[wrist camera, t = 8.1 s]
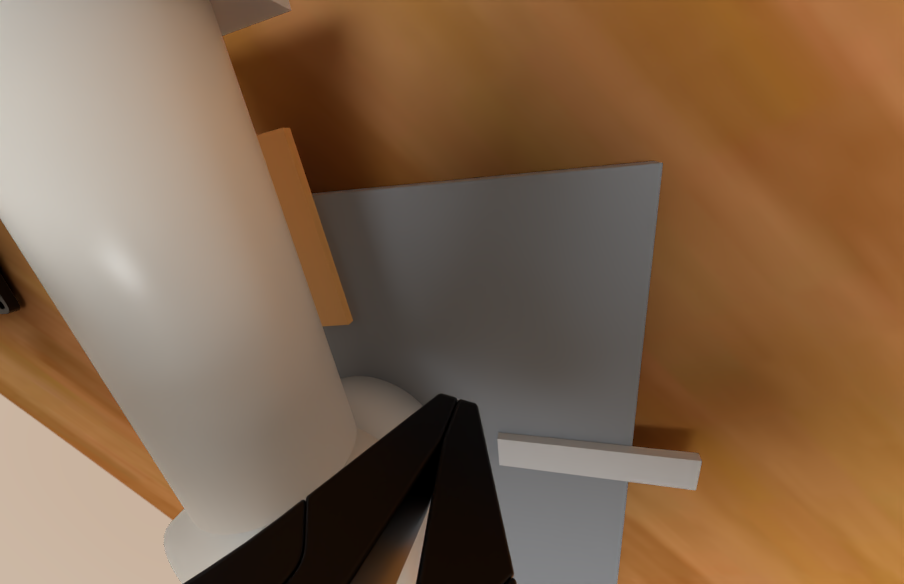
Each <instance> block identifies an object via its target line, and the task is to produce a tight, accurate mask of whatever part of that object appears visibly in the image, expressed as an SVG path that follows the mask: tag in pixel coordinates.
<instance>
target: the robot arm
mask: <svg viewBox="0 0 904 584" xmlns="http://www.w3.org/2000/svg"><path fill="white" fill-rule="evenodd" d="M19 309H20V305H19V303H18V301H17V299H16V298H15V296H14V294H13V293H12V291H11V290H10V288H9V286H8V285H7V283H6V282H5V280H4V278H3V277H2V275H1V274H0V314H8V313H11V312H14V311H17V310H19ZM429 505H430V508H429ZM428 508H429V513H428V519H427V524H426V530H425V535H424V541H423V546H422V552H421V557H420V563H419V569H418V574H417V580H416V584H517V582H516V580H515V579H514V578H513V576H514V570H513V565H512V560H511V556H510V551H509V547H508V542H507V537H506V533H505V528H504V524H503V519H502V514H501V510H500V505H499V501H498V496H497V491H496V487H495V482H494V478H493V473H492V468H491V464H490V459H489V455H488V450H487V445H486V441H485V436H484V432H483V427H482V422H481V418H480V413H479V409H478V406H477V404H476V403H473V402H470V401H467V400H463V399H459V400H457V398H456V397H453V396H450V395H446V394H443V393H440V394H438V395H436V396H435V397H434V398H432V399H431V400H430V401H429V402H427V403H426V404H425V405H423V406H422V407H421V408H420V409H418V410H417V411H416V412H414V413H413V414H412V415H411V416H409V417H408V418H407V419H405V420H404V421H403V422H402V423H400V424H399V425H398V426H396V427H395V428H394V429H393V430H391V431H390V432H389V433H387V434H386V435H385V436H384V437H382V438H381V439H380V440H378V441H377V442H376V443H375V444H373V445H372V446H371V447H369V448H368V449H367V450H366V451H364V452H363V453H362V454H360V455H359V456H358V457H357V458H355V459H354V460H353V461H351V462H350V463H349V464H348V465H346V466H345V467H344V468H342V469H341V470H340V471H339V472H337V473H336V474H335V475H333V476H332V477H331V478H330V479H328V480H327V481H326V482H324V483H323V484H322V485H321V486H319V487H318V488H317V489H315V490H314V491H313V492H311V493H310V494H309V495H308V496H307V497H306V501H305V500H301V501H300V502H298V503H297V504H296V505H294V506H293V507H292V508H291V509H289V510H288V511H287V512H286V513H284V514H283V515H282V516H280V517H279V518H278V519H276V520H275V521H274V522H272V523H271V524H270V525H268V526H267V527H265V528H264V529H263V530H261V531H260V532H259V533H257V534H256V535H255V536H253V537H252V538H251V539H249V540H248V541H246V542H245V543H243V544H242V545H241V546H239V547H238V548H236V549H235V550H233V551H232V552H230V553H229V554H227V555H226V556H224V557H223V558H221V559H220V560H218V561H217V562H215V563H214V564H212V565H211V566H209V567H208V568H206V569H205V570H203V571H202V572H200V573H199V574H197V575H195V576H194V577H192V578H191V579H189V580H188V581H186V582H185V583H183V584H396V583H397V581H398V579H399V576H400V574H401V572H402V569H403V567H404V565H405V562H406V560H407V558H408V555H409V553H410V551H411V548H412V546H413V544H414V541H415V539H416V537H417V534H418V532H419V530H420V527H421V525H422V523H423V520H424V518H425V515H426V513H427V510H428Z"/></svg>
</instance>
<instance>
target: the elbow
mask: <svg viewBox="0 0 904 584" xmlns="http://www.w3.org/2000/svg"><path fill="white" fill-rule="evenodd" d="M289 11H291V7H290V3H289V0H0V219H1V221H2V222H3V224H4V225H5V227H6V229H7V230H8V232H9V233H10V235H11V236H12V238H13V240H14V241H15V243H16V244H17V246H18V247H19V249H20V251H21V252H22V254H23V255H24V257H25V258H26V260H27V262H28V263H29V265H30V266H31V268H32V269H33V271H34V273H35V274H36V276H37V277H38V279H39V280H40V282H41V284H42V285H43V287H44V288H45V290H46V292H47V293H48V295H49V296H50V298H51V299H52V301H53V303H54V304H55V306H56V307H57V309H58V310H59V312H60V314H61V315H62V317H63V318H64V320H65V321H66V323H67V325H68V326H69V328H70V329H71V331H72V332H73V334H74V336H75V337H76V339H77V340H78V342H79V343H80V345H81V347H82V348H83V350H84V351H85V353H86V354H87V356H88V358H89V359H90V361H91V362H92V364H93V366H94V367H95V369H96V370H97V372H98V373H99V375H100V377H101V378H102V380H103V381H104V383H105V384H106V386H107V388H108V389H109V391H110V392H111V394H112V395H113V397H114V399H115V400H116V402H117V403H118V405H119V406H120V408H121V410H122V411H123V413H124V414H125V416H126V417H127V419H128V421H129V422H130V424H131V425H132V427H133V428H134V430H135V432H136V433H137V435H138V436H139V438H140V439H141V441H142V443H143V444H144V446H145V447H146V449H147V451H148V452H149V454H150V455H151V457H152V458H153V460H154V462H155V463H156V465H157V466H158V468H159V469H160V471H161V473H162V474H163V476H164V477H165V479H166V480H167V482H168V484H169V485H170V487H171V488H172V490H173V491H174V493H175V495H176V496H177V498H178V499H179V501H180V502H181V504H182V506H183V507H184V510H183V511H182V512H181V513H180V514H179V515H178V516H177V517H176V518H175V519H174V520H173V521H172V522H171V523H170V524H169V526H168V527H167V529H166V532H165V535H164V547H165V552H166V555H167V558H168V561H169V563H170V565H171V567H172V569H173V571H174V572H175V574H176V575H177V577H178V579H179V580H180V582H181V583H182V584H183V583H185V582H186V581H188V580H189V579H191V578H192V577H194V576H195V575H197V574H199V573H200V572H202V571H203V570H205V569H206V568H208V567H209V566H211V565H212V564H214V563H215V562H217V561H218V560H220V559H221V558H223V557H224V556H226V555H227V554H229V553H230V552H232V551H233V550H235V549H236V548H238V547H239V546H241V545H242V544H243V543H245V542H246V541H248V540H249V539H251V538H252V537H253V536H255V535H256V534H257V533H259V532H260V531H261V530H263V529H264V528H265V527H267V526H268V525H270V524H271V523H272V522H274V521H275V520H276V519H278V518H279V517H280V516H282V515H283V514H284V513H286V512H287V511H288V510H289V509H291V508H292V507H293V506H294V505H296V504H297V503H298V502H300V501H301V500H305V501H306V497H307V496H308V495H309V494H310V493H311V492H313V491H314V490H315V489H317V488H318V487H319V486H321V485H322V484H323V483H324V482H326V481H327V480H328V479H330V478H331V477H332V476H333V475H335V474H336V473H337V472H339V471H340V470H341V469H342V468H344V467H345V466H346V465H348V464H349V463H350V462H351V461H353V460H354V459H355V458H357V457H358V456H359V455H360V454H362V453H363V452H364V451H366V450H367V449H368V448H369V447H371V446H372V445H373V444H375V443H376V442H377V441H378V439H377V438H375V437H374V436H372V435H370V434H368V433H366V432H365V431H363V430H361V429H359V428H357V427H356V423H355V420H354V417H353V414H352V411H351V408H350V405H349V403H348V400H347V397H346V394H345V391H344V388H343V385H342V382H341V379H340V376H339V374H338V371H337V368H336V365H335V362H334V359H333V356H332V353H331V350H330V347H329V344H328V342H327V339H326V336H325V333H324V330H323V327H322V324H321V321H320V318H319V315H318V313H317V310H316V307H315V304H314V301H313V298H312V295H311V292H310V289H309V286H308V284H307V281H306V278H305V275H304V272H303V269H302V266H301V263H300V260H299V257H298V254H297V252H296V249H295V246H294V243H293V240H292V237H291V234H290V231H289V228H288V225H287V223H286V220H285V217H284V214H283V211H282V208H281V205H280V202H279V199H278V196H277V194H276V191H275V188H274V185H273V182H272V179H271V176H270V173H269V170H268V167H267V164H266V162H265V159H264V156H263V153H262V150H261V147H260V144H259V141H258V138H257V135H256V133H255V130H254V127H253V124H252V121H251V118H250V115H249V112H248V109H247V106H246V104H245V101H244V98H243V95H242V92H241V89H240V86H239V83H238V80H237V77H236V74H235V72H234V69H233V66H232V63H231V60H230V57H229V54H228V51H227V48H226V45H225V43H224V40H223V37H222V36H224V35H226V34H229V33H232V32H234V31H237V30H240V29H242V28H245V27H248V26H251V25H253V24H256V23H259V22H261V21H264V20H267V19H270V18H272V17H275V16H278V15H280V14H283V13H286V12H289ZM429 508H430V505H429ZM429 508H428V510H427V513H426V515H425V518H424V520H423V523H422V525H421V527H420V530H419V532H418V534H417V537H416V539H415V541H414V544H413V546H412V548H411V551H410V553H409V555H408V558H407V560H406V562H405V565H404V567H403V569H402V572H401V574H400V576H399V579H398V581H397V583H396V584H416V580H417V574H418V569H419V563H420V557H421V552H422V546H423V541H424V535H425V530H426V524H427V519H428V513H429Z"/></svg>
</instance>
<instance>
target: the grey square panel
mask: <svg viewBox="0 0 904 584" xmlns="http://www.w3.org/2000/svg"><path fill="white" fill-rule="evenodd" d="M257 138H258V141H259V144H260V147H261V150H262V153H263V156H264V159H265V162H266V164H267V167H268V170H269V173H270V176H271V179H272V182H273V185H274V188H275V191H276V194H277V196H278V199H279V202H280V205H281V208H282V211H283V214H284V217H285V220H286V223H287V225H288V228H289V231H290V234H291V237H292V240H293V243H294V246H295V249H296V252H297V254H298V257H299V260H300V263H301V266H302V269H303V272H304V275H305V278H306V281H307V284H308V286H309V289H310V292H311V295H312V298H313V301H314V304H315V307H316V310H317V313H318V315H319V318H320V321H321V324H322V327H323V330H324V333H325V336H326V339H327V342H328V344H329V347H330V350H331V353H332V356H333V359H334V362H335V365H336V368H337V371H338V374H339V376H340V379H341V382H342V385H343V388H344V391H345V394H346V397H347V400H348V403H349V405H350V408H351V411H352V414H353V417H354V420H355V423H356V427H357V428H359V429H361V430H363V431H365V432H366V433H368V434H370V435H372V436H374V437H375V438H377V439H378V440H380V439H381V438H382V437H384V436H385V435H386V434H387V433H389V432H390V431H391V430H393V429H394V428H395V427H396V426H398V425H399V424H400V423H402V422H403V421H404V420H405V419H407V418H408V417H409V416H411V415H412V414H413V413H414V412H416V411H417V410H418V409H420V408H421V407H422V406H423V405H425V404H426V403H427V402H429V401H430V400H431V399H432V398H434V397H435V396H436V395H438V394H440V393H443V394H446V395H450V396H453V397H456V398H457V400H459V399H463V400H467V401H470V402H473V403H476V404H477V406H478V409H479V413H480V418H481V422H482V427H483V432H484V436H485V441H486V445H487V450H488V455H489V459H490V464H491V468H492V473H493V478H494V482H495V487H496V491H497V496H498V501H499V505H500V510H501V514H502V519H503V524H504V528H505V533H506V537H507V542H508V547H509V551H510V556H511V560H512V565H513V570H514V576H513V578H514V579H515V580H516V582H517V584H617V580H618V571H619V562H620V553H621V544H622V534H623V525H624V516H625V507H626V498H627V488H628V482H635V483H643V484H650V485H658V486H666V487H674V488H681V489H689V490H696V487H697V483H698V478H699V473H700V468H701V464H702V460H701V458H700V456H699V454H698V453H693V452H683V451H673V450H664V449H654V448H644V447H635V446H632V442H633V433H634V424H635V415H636V406H637V396H638V387H639V378H640V369H641V360H642V350H643V341H644V332H645V323H646V314H647V304H648V295H649V286H650V277H651V268H652V258H653V249H654V240H655V231H656V222H657V212H658V203H659V194H660V185H661V176H662V166H663V163H661V162H656V161H647V162H636V163H626V164H615V165H605V166H594V167H584V168H573V169H563V170H552V171H541V172H531V173H520V174H510V175H499V176H489V177H478V178H468V179H457V180H447V181H436V182H426V183H415V184H405V185H394V186H383V187H373V188H362V189H352V190H341V191H331V192H320V193H311V190H310V187H309V184H308V181H307V178H306V175H305V172H304V169H303V166H302V163H301V160H300V157H299V154H298V151H297V148H296V145H295V142H294V139H293V136H292V133H291V129H290V128H280V129H276V130H272V131H269V132H265V133H262V134H258V135H257Z"/></svg>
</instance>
